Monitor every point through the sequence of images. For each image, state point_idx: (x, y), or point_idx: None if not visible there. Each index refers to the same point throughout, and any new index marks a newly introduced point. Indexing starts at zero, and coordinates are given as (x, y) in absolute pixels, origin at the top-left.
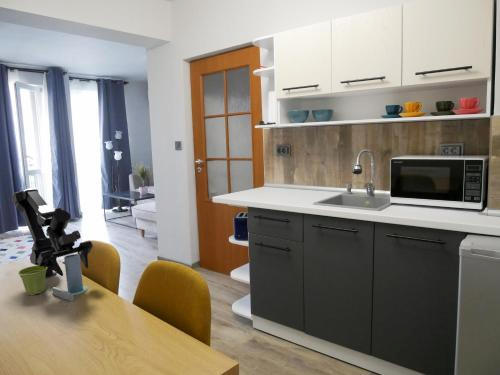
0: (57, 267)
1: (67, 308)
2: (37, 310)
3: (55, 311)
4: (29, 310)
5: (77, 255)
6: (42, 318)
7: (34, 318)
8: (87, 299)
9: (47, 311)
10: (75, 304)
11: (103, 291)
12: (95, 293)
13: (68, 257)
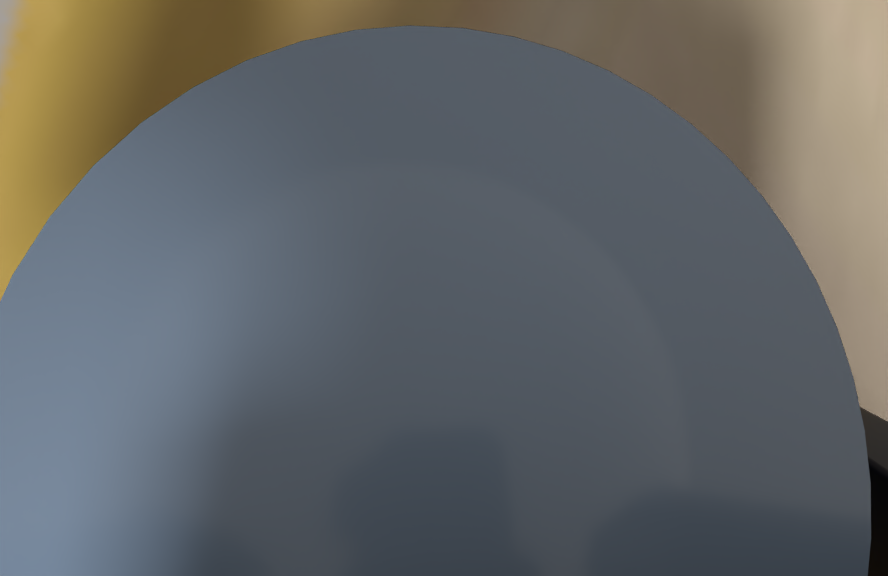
0: (881, 427)
1: (596, 19)
2: (810, 251)
3: (698, 65)
4: (863, 325)
5: (165, 337)
6: (814, 36)
7: (861, 100)
8: (346, 26)
9: (749, 137)
10: (501, 31)
11: (53, 58)
12: (171, 99)
13: (698, 423)
